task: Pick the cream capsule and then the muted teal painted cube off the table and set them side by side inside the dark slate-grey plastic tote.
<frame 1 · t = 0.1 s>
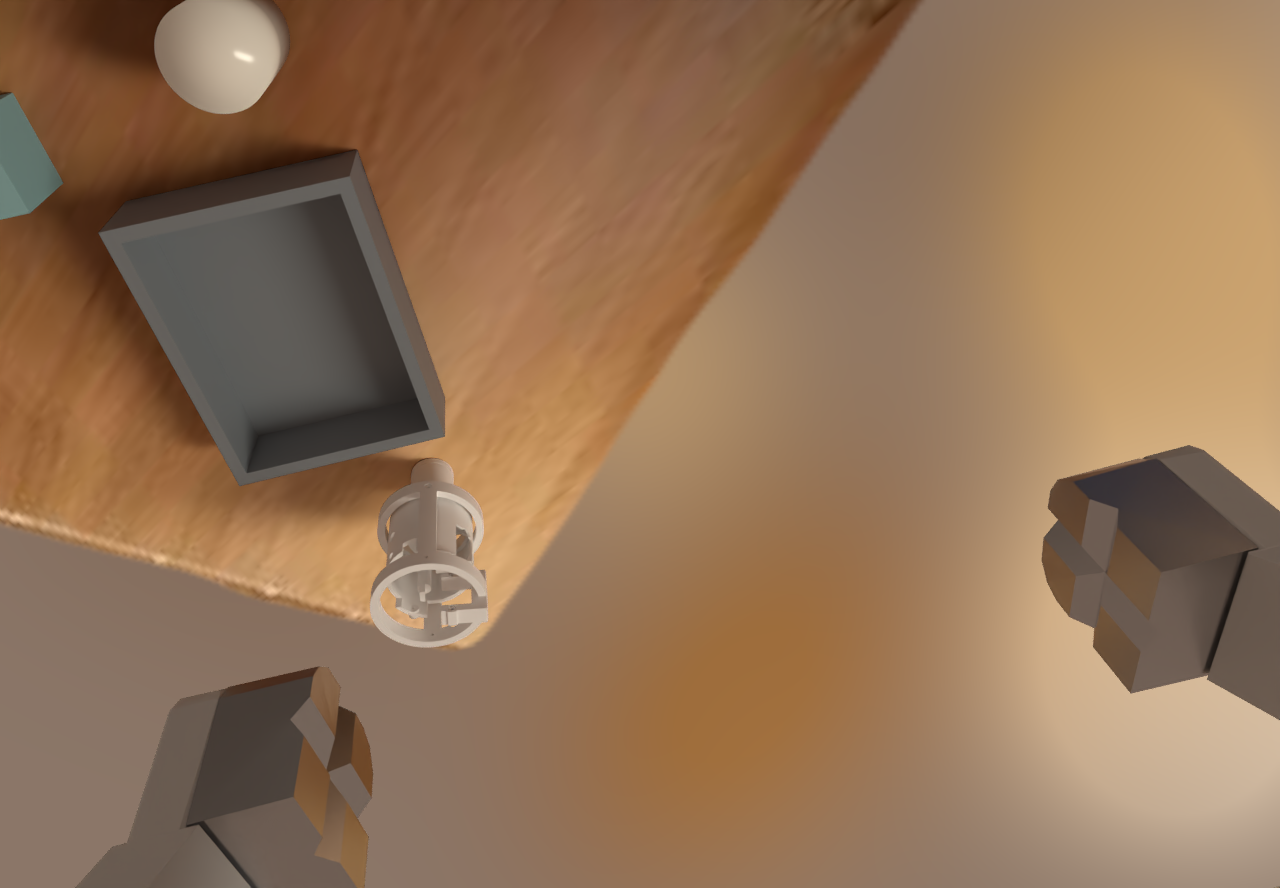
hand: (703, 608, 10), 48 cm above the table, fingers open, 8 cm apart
tote: (300, 308, 57), on the table
grey slotted cylindrical housing: (432, 473, 66), on the table
cream capsule: (240, 32, 48), on the table
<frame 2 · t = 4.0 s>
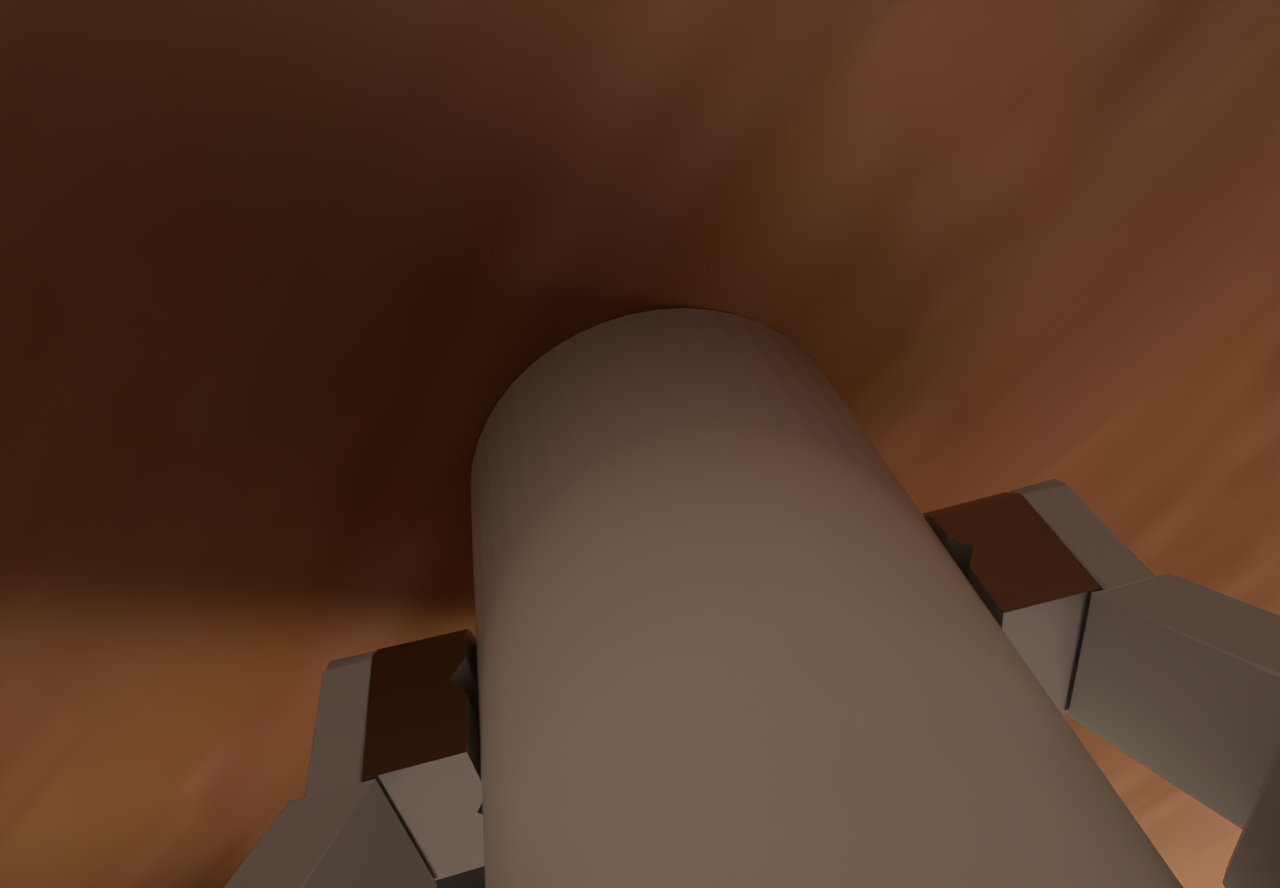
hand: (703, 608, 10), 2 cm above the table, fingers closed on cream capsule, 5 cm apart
cream capsule: (662, 480, 12), on the table, touching gripper
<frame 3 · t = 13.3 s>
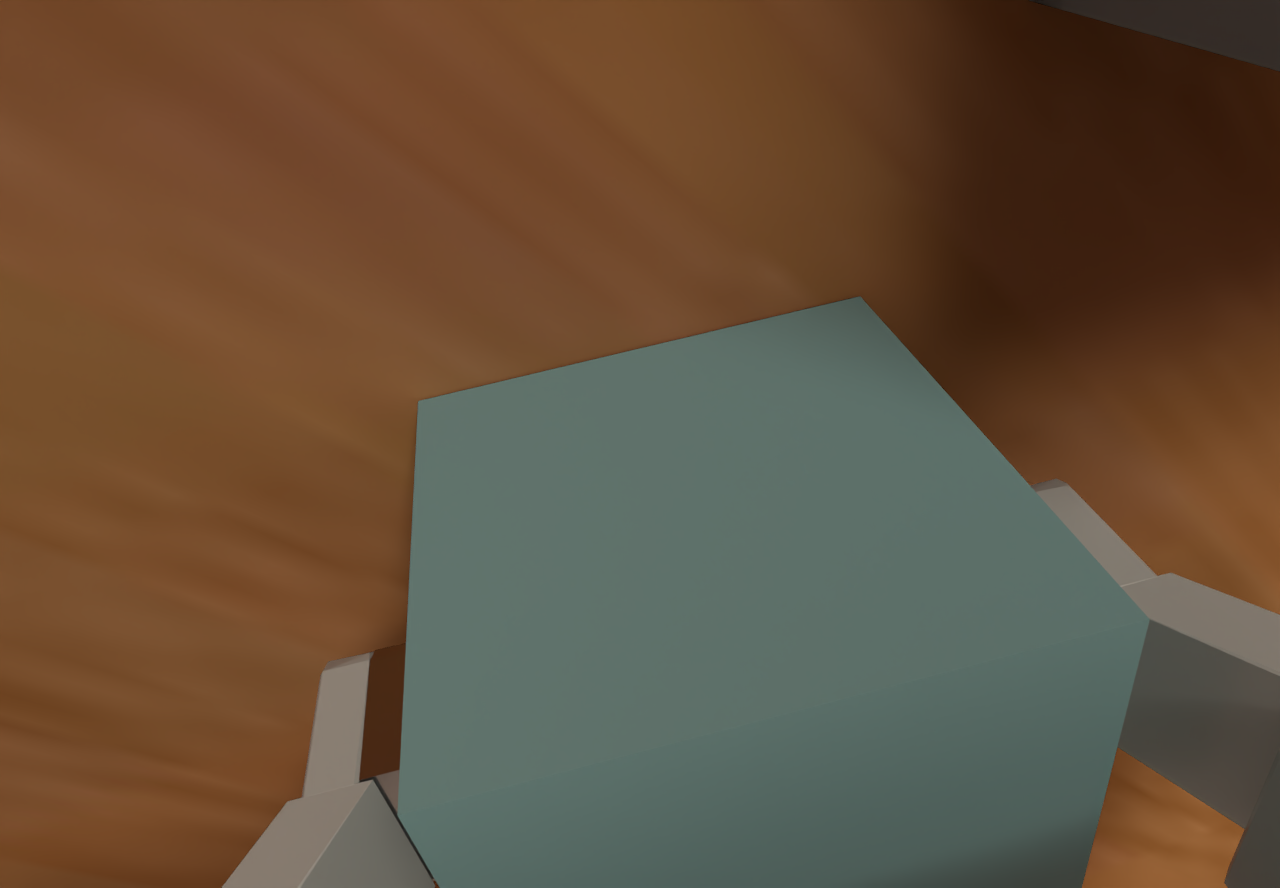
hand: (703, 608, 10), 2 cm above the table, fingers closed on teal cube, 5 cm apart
teal cube: (674, 518, 11), on the table, touching gripper
when the fingers open (5 cm above the table, at t = 18.3 s): teal cube drops 3 cm, resting on tote.
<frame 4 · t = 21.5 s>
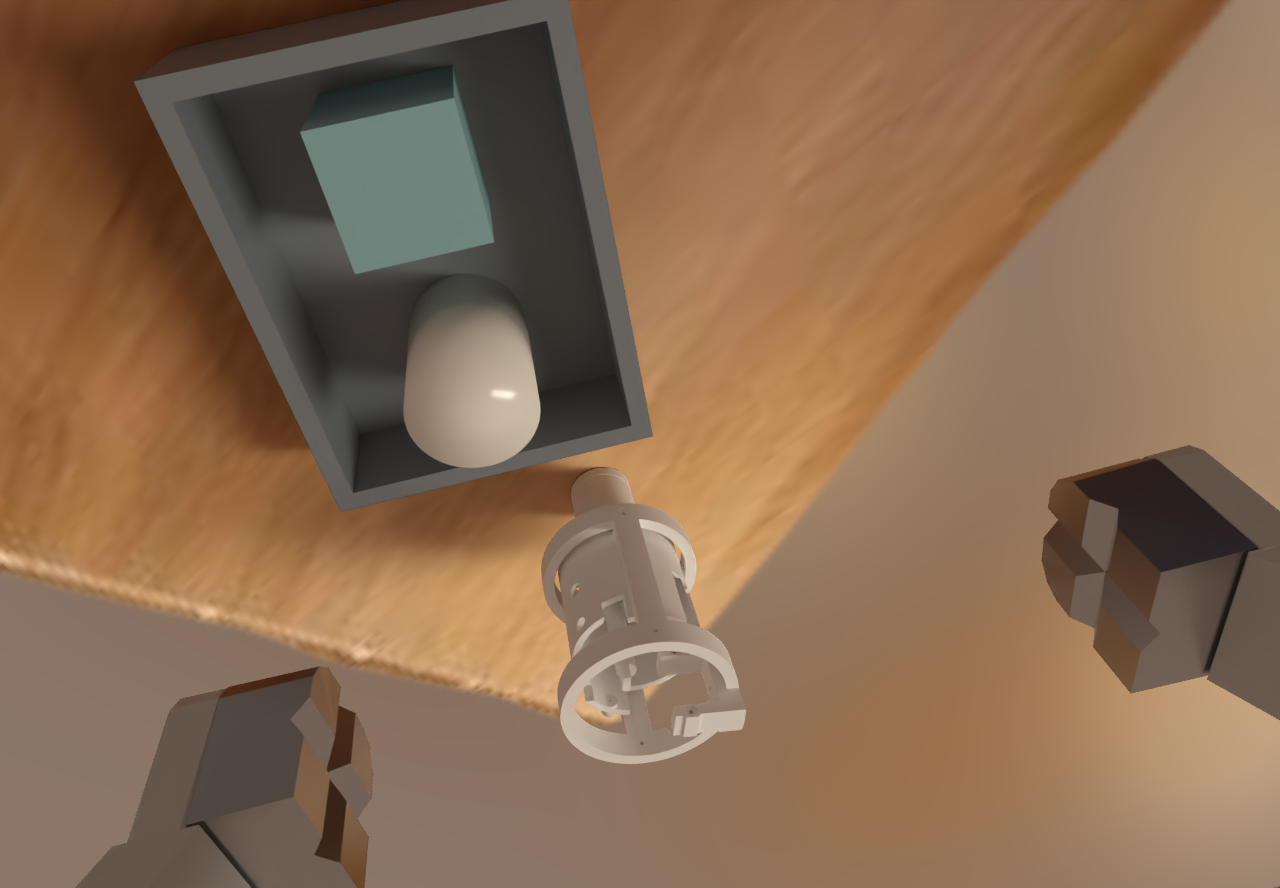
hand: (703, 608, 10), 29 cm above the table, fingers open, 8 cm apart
tote: (437, 238, 37), on the table
teal cube: (407, 147, 34), point 1 cm above the table, touching tote
grey slotted cylindrical housing: (599, 489, 46), on the table
cream capsule: (468, 327, 38), point 1 cm above the table, touching tote
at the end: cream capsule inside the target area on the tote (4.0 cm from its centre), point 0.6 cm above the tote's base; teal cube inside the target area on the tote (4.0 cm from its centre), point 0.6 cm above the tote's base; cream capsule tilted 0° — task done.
